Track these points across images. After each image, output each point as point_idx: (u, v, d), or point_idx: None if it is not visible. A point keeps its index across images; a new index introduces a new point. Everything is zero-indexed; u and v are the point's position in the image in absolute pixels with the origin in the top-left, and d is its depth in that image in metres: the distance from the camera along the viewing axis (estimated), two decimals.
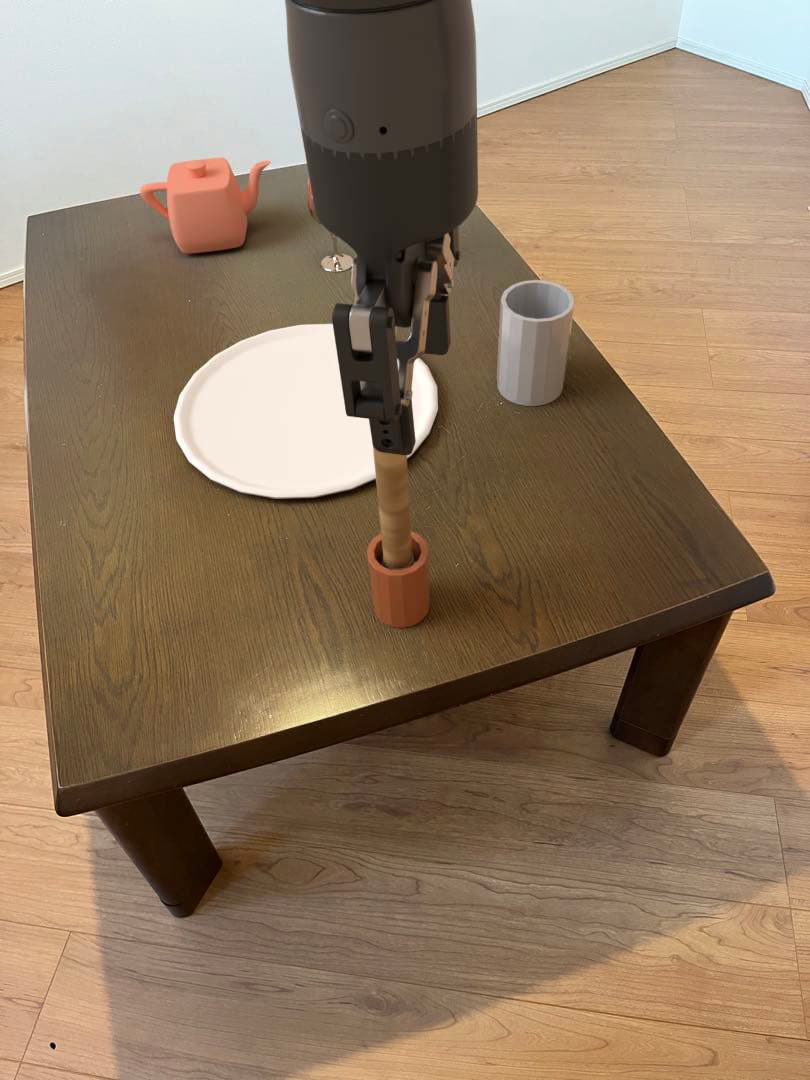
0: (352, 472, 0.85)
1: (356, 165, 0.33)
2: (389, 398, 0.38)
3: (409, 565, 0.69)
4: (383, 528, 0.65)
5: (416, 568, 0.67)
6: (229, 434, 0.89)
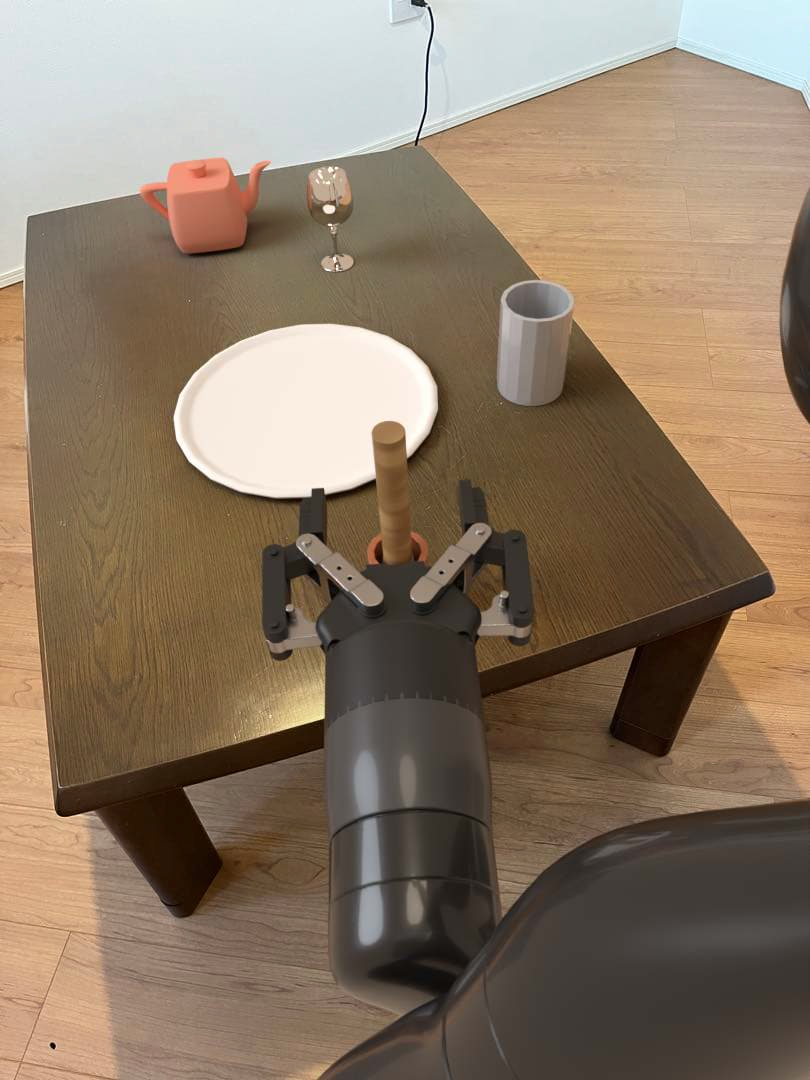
0: (352, 472, 0.85)
1: None
2: None
3: None
4: (383, 528, 0.65)
5: None
6: (229, 434, 0.89)
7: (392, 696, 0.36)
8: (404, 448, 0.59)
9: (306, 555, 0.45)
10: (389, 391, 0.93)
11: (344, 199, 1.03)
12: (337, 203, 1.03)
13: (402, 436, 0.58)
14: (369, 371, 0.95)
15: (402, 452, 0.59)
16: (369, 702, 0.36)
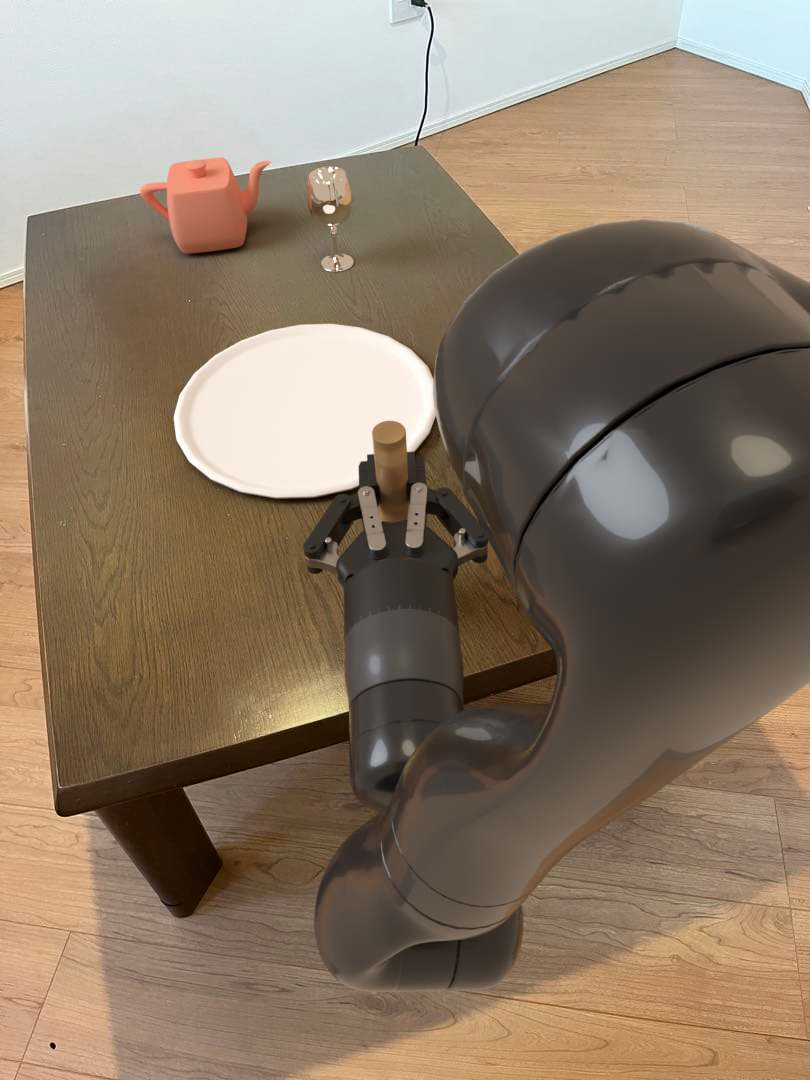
0: (352, 472, 0.85)
1: None
2: None
3: None
4: None
5: None
6: (229, 434, 0.89)
7: (392, 607, 0.51)
8: (404, 448, 0.59)
9: (359, 500, 0.61)
10: (389, 391, 0.93)
11: (344, 199, 1.03)
12: (337, 203, 1.03)
13: (402, 436, 0.58)
14: (369, 371, 0.95)
15: (402, 452, 0.59)
16: (376, 612, 0.51)
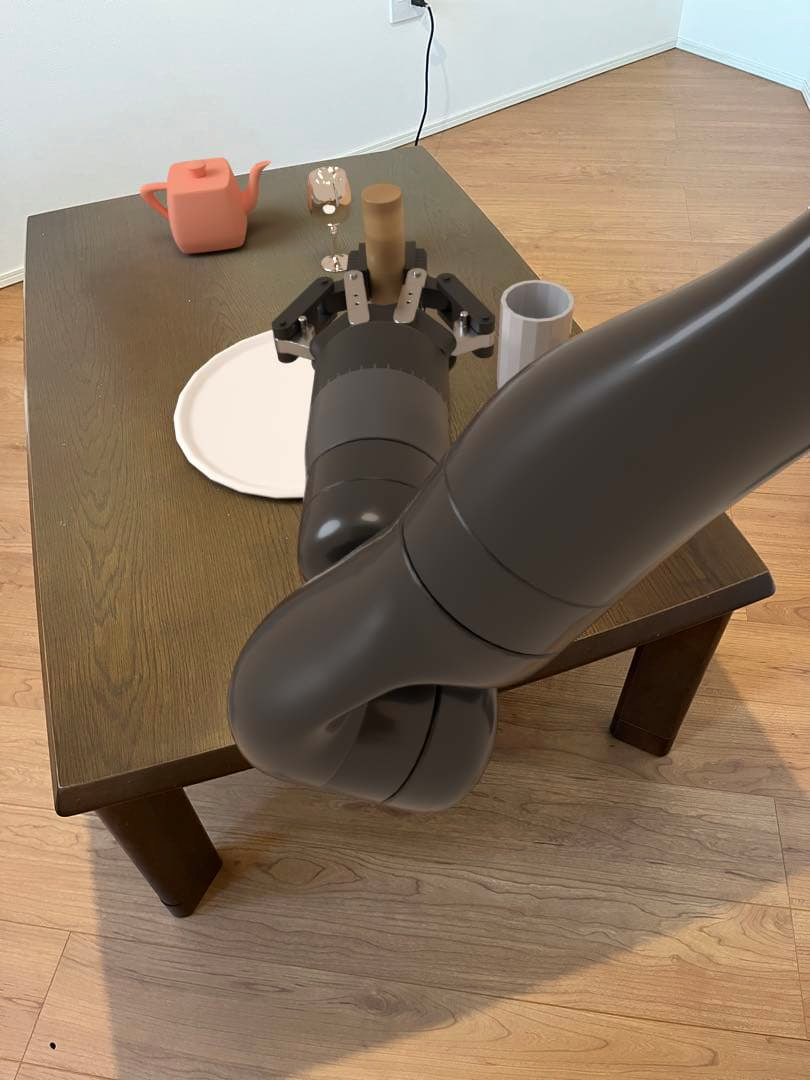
0: None
1: None
2: None
3: None
4: None
5: None
6: (229, 434, 0.89)
7: (366, 366, 0.41)
8: (400, 216, 0.49)
9: (344, 283, 0.51)
10: None
11: (344, 199, 1.03)
12: (337, 203, 1.03)
13: (397, 196, 0.48)
14: None
15: (397, 221, 0.49)
16: (346, 372, 0.41)
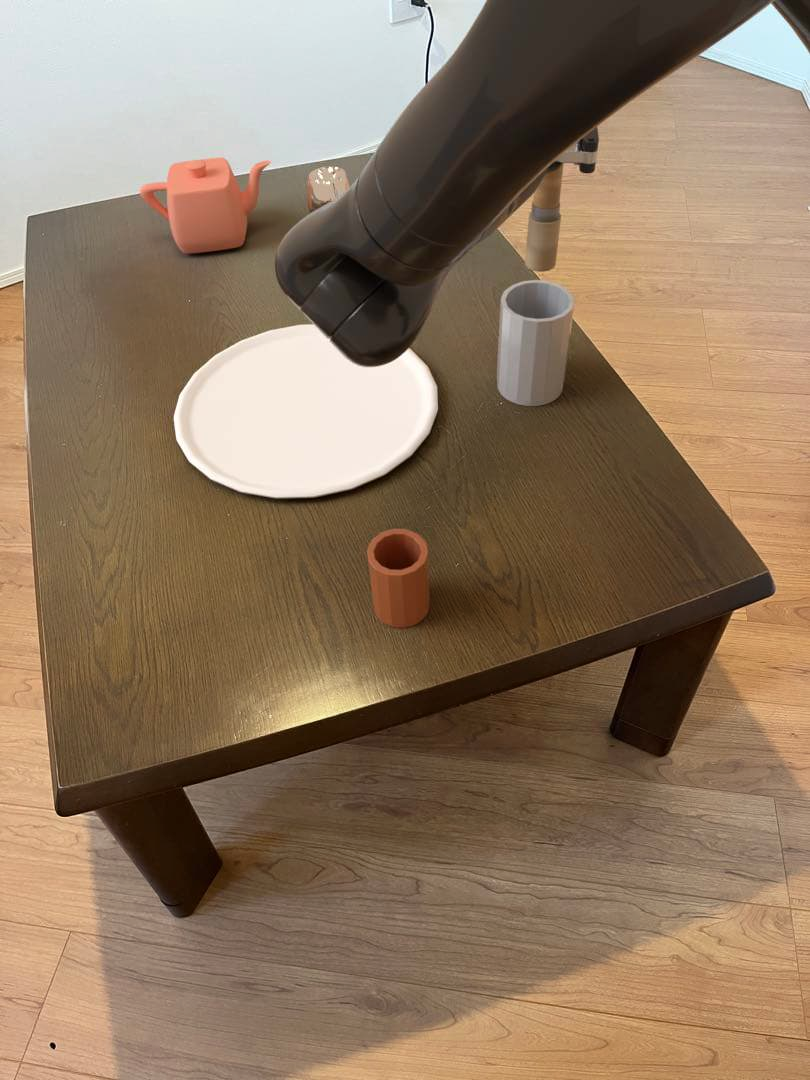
0: (352, 472, 0.85)
1: (522, 192, 0.63)
2: None
3: (551, 210, 0.76)
4: None
5: (416, 568, 0.67)
6: (229, 434, 0.89)
7: None
8: None
9: None
10: (389, 391, 0.93)
11: None
12: None
13: None
14: (369, 371, 0.95)
15: None
16: None
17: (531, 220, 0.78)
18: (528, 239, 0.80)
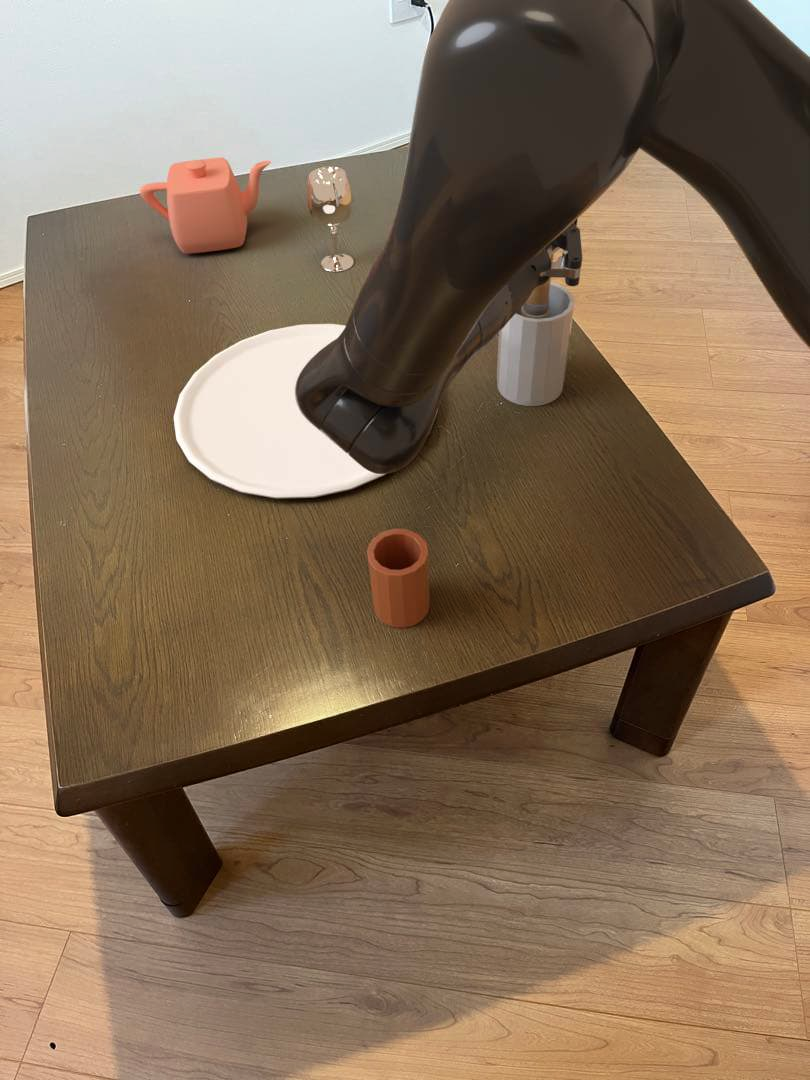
0: (352, 472, 0.85)
1: (514, 308, 0.70)
2: None
3: (541, 305, 0.84)
4: None
5: (416, 568, 0.67)
6: (229, 434, 0.89)
7: None
8: None
9: None
10: None
11: (344, 199, 1.03)
12: (337, 203, 1.03)
13: None
14: None
15: None
16: None
17: (523, 312, 0.85)
18: None
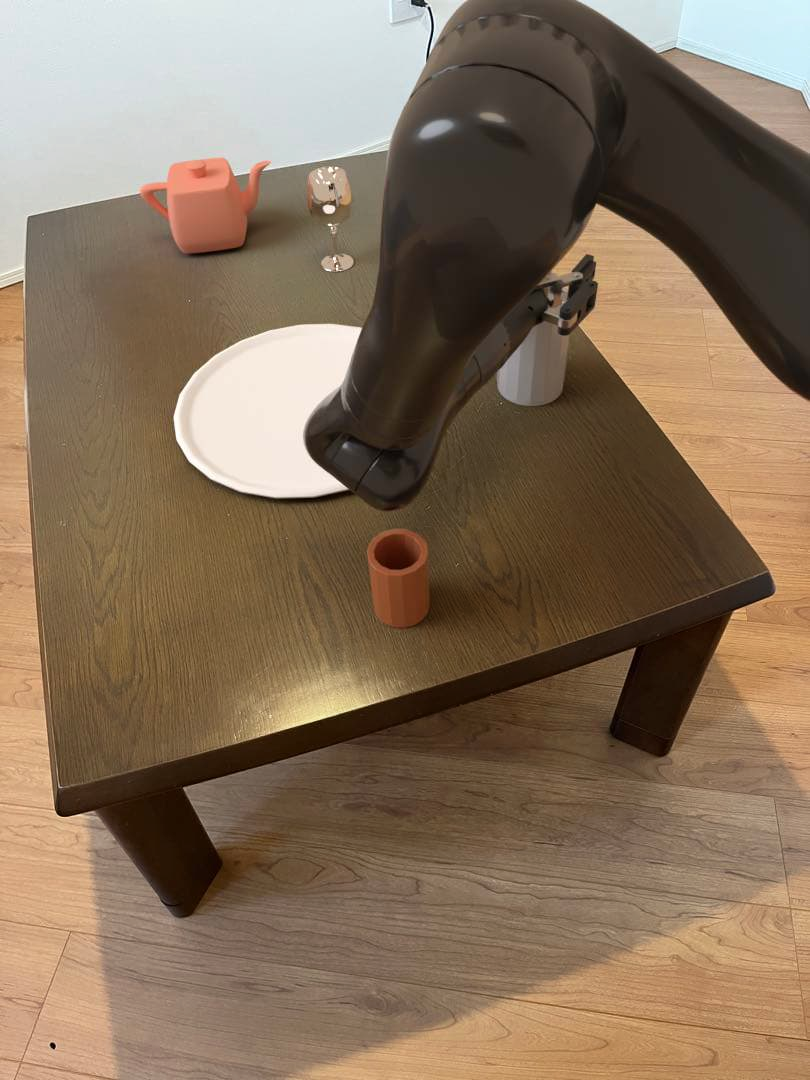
0: None
1: (512, 348, 0.73)
2: (591, 292, 0.76)
3: None
4: None
5: (416, 568, 0.67)
6: (229, 434, 0.89)
7: None
8: None
9: None
10: None
11: (344, 199, 1.03)
12: (337, 203, 1.03)
13: None
14: None
15: None
16: None
17: None
18: None
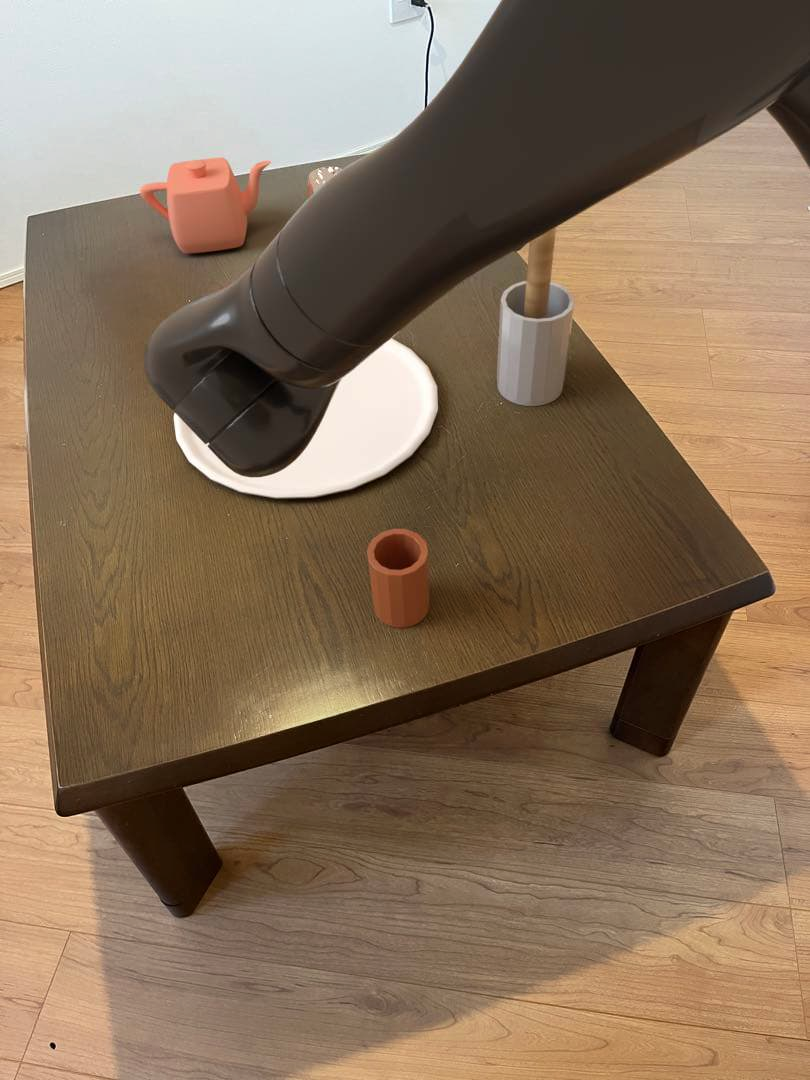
0: (352, 472, 0.85)
1: None
2: None
3: None
4: (525, 297, 0.85)
5: (416, 568, 0.67)
6: None
7: None
8: None
9: None
10: (389, 391, 0.93)
11: None
12: None
13: None
14: (369, 371, 0.95)
15: None
16: None
17: None
18: None
